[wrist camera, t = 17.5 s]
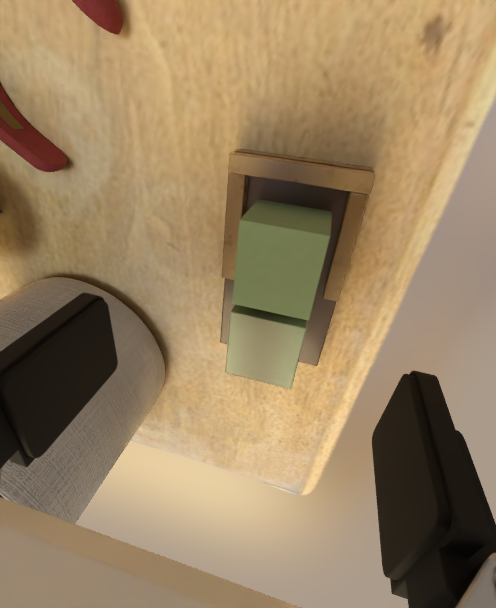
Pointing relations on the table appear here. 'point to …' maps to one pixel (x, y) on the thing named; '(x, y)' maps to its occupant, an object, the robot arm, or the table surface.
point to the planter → (98, 411)
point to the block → (280, 257)
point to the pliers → (18, 132)
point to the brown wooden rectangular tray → (344, 229)
